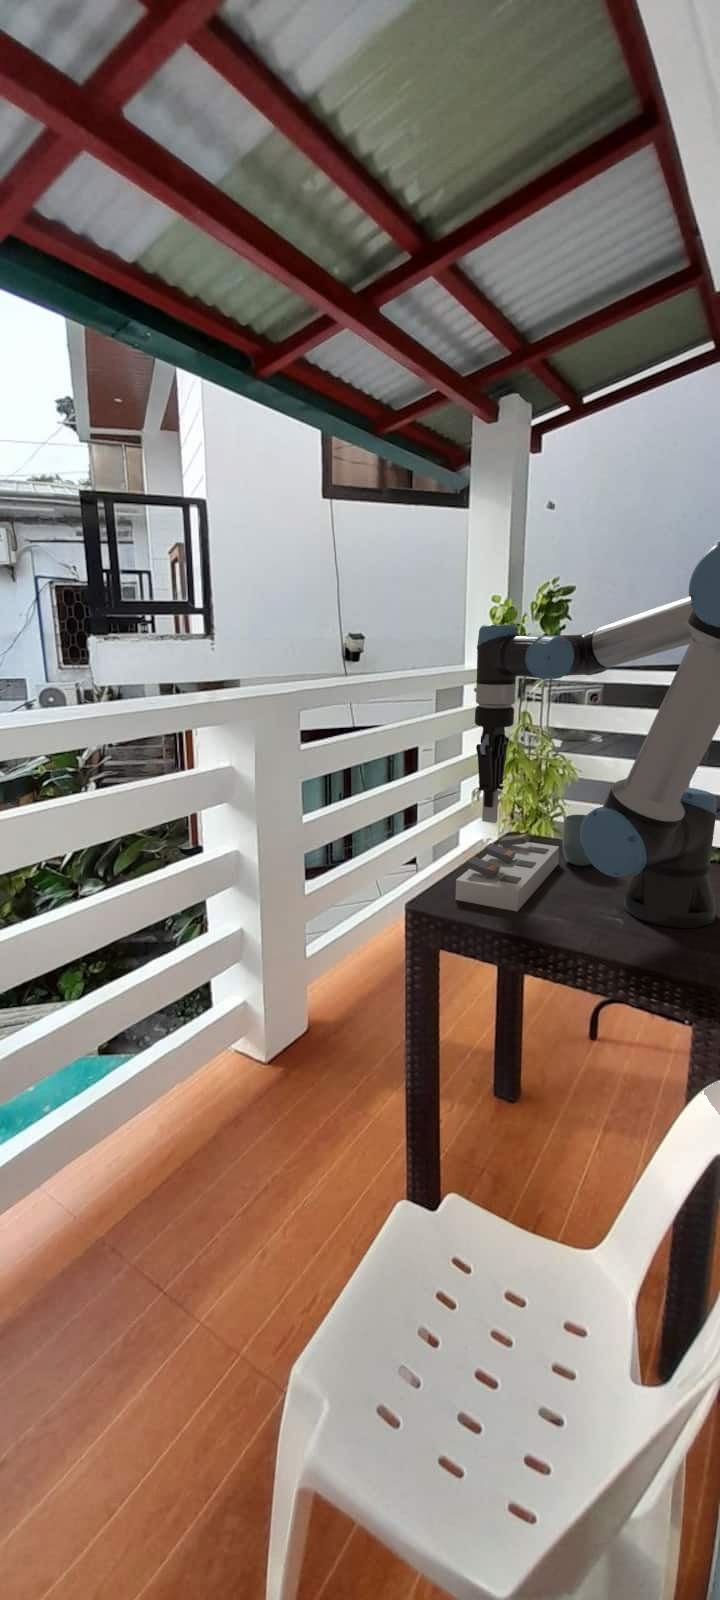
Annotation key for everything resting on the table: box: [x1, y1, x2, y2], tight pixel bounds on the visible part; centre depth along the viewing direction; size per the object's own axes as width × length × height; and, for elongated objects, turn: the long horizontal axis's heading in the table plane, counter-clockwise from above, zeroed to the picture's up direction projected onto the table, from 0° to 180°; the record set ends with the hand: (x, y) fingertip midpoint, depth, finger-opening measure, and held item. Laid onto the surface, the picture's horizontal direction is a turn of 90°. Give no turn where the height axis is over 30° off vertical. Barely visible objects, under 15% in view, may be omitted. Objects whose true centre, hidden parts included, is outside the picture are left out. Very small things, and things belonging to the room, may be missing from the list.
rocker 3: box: [498, 833, 531, 846], centre depth 151 cm, size 6×4×1 cm, turn 60°
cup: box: [562, 814, 592, 867], centre depth 152 cm, size 8×8×10 cm
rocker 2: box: [483, 842, 516, 863], centre depth 143 cm, size 6×4×1 cm, turn 61°
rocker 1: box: [465, 855, 500, 878], centre depth 134 cm, size 6×4×1 cm, turn 61°
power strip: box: [455, 841, 560, 912], centre depth 146 cm, size 12×39×4 cm, turn 151°
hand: (489, 821), depth 143 cm, fingers closed
